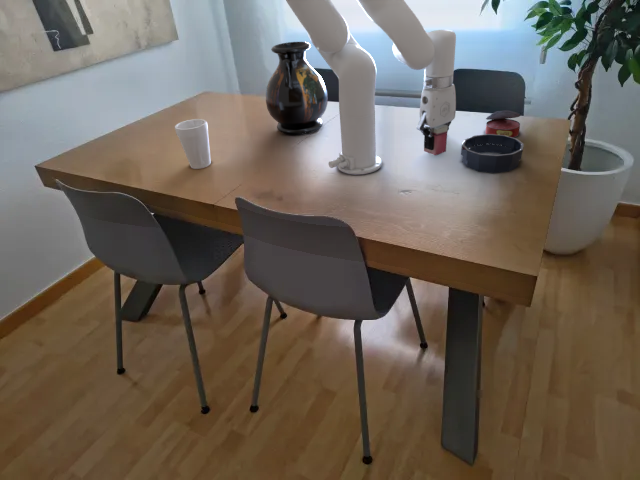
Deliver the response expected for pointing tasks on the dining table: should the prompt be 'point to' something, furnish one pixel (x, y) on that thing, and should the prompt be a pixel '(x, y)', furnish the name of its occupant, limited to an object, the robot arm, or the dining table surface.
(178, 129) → the foam cup
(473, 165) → the ring
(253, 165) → the dining table surface
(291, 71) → the amphora vase
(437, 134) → the small box
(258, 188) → the dining table surface
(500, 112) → the canned food
